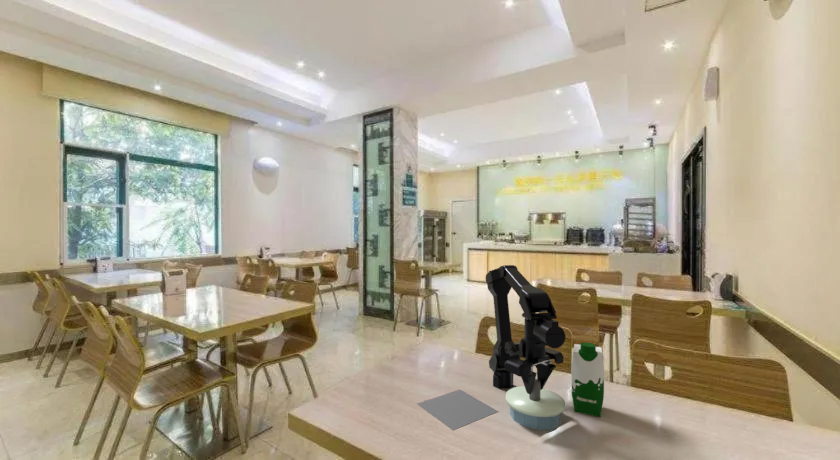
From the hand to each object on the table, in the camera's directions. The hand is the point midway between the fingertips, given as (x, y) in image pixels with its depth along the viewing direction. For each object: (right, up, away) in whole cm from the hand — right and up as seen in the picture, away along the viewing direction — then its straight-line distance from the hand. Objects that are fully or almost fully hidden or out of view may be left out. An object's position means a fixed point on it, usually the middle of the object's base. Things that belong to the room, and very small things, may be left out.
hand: (534, 391), depth 103 cm
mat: (-21, -8, +5) cm, 23 cm away
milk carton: (+18, -8, +6) cm, 20 cm away
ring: (0, -8, 0) cm, 8 cm away
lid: (0, -3, 0) cm, 3 cm away
